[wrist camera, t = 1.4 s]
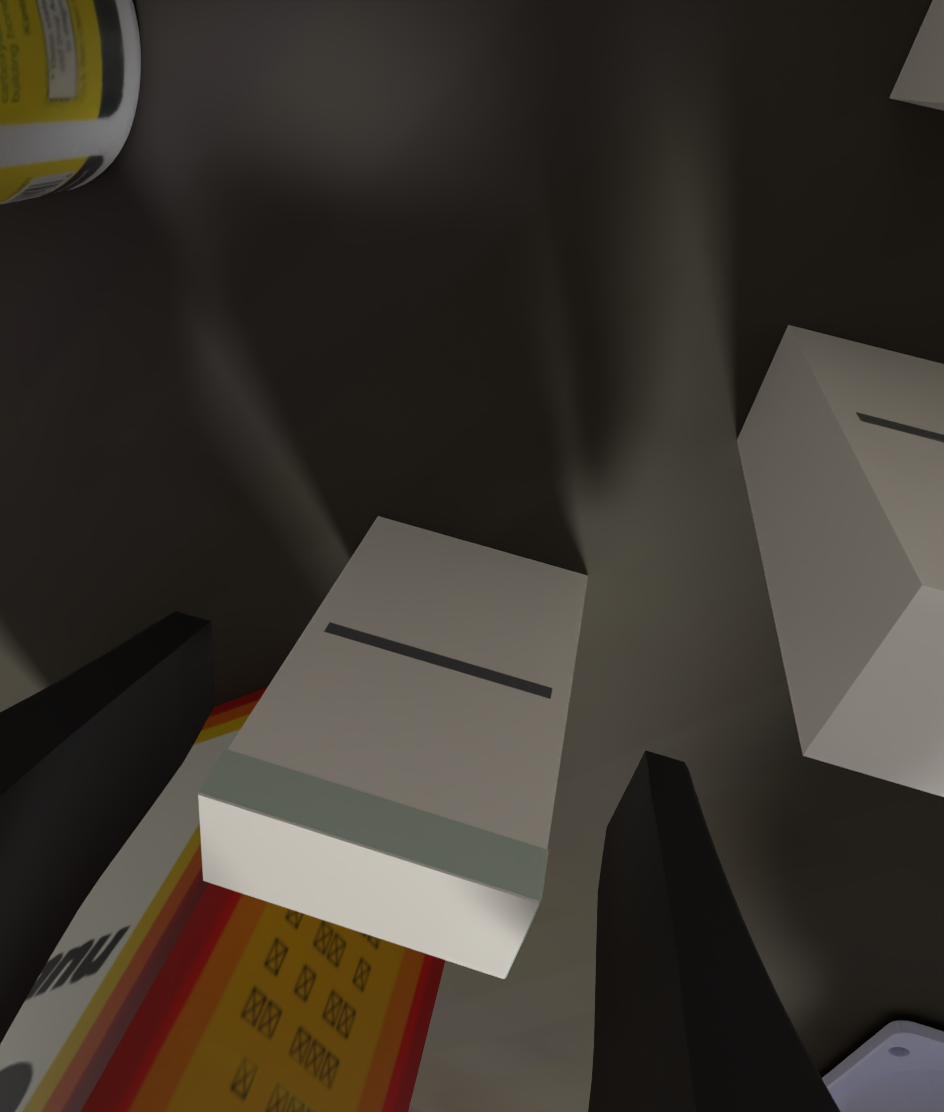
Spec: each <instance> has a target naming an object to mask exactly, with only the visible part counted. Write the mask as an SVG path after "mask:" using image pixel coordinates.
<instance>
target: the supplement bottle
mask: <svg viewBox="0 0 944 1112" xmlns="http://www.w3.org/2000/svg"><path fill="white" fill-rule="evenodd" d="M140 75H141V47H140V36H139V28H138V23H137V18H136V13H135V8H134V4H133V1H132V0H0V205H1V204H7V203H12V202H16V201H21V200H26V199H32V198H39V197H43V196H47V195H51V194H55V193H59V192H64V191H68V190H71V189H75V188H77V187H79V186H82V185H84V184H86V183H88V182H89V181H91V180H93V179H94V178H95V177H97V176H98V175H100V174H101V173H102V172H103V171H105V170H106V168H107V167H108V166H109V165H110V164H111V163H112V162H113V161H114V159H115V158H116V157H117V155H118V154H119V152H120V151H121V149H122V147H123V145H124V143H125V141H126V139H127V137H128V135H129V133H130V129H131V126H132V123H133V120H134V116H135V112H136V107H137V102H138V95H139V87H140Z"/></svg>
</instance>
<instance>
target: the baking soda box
mask: <svg viewBox="0 0 944 1112" xmlns="http://www.w3.org/2000/svg"><path fill="white" fill-rule="evenodd" d="M267 687H268V686H267ZM267 687H265V688H262V689H259V690H257V691H254V692H251V693H249V694H246V695H244V696H241V697H238V698H236V699H233V700H231V701H228V702H225V703H223V704H220V705H218V706H215V707H214V708H213V710H212V712H211V713H210V715H209V717H208V719H207V721H206V723H205V725H204V726H203V728H202V730H201V732H200V734H199V736H198V738H197V739H196V741H195V743H194V745H193V746H192V748H191V750H190V752H189V753H188V755H187V757H186V759H185V760H184V762H183V764H182V765H181V766H180V768H179V769H178V771H177V772H176V773H175V775H174V776H173V778H172V779H171V781H170V782H169V783H168V785H167V786H166V787H165V789H164V790H163V792H162V793H161V794H160V796H159V797H158V799H157V800H156V801H155V803H154V804H153V806H152V807H151V808H150V810H149V811H148V812H147V814H146V815H145V817H144V818H143V819H142V821H141V822H140V823H139V825H138V826H137V828H136V829H135V830H134V832H133V833H132V834H131V836H130V837H129V839H128V840H127V841H126V843H125V844H124V845H123V847H122V848H121V850H120V851H119V852H118V854H117V855H116V856H115V858H114V859H113V861H112V862H111V863H110V865H109V866H108V867H107V869H106V870H105V872H104V873H103V874H102V876H101V877H100V878H99V880H98V881H97V883H96V884H95V886H94V887H93V889H92V890H91V892H90V893H89V895H88V896H87V898H86V899H85V901H84V902H83V904H82V905H81V906H80V908H79V910H78V911H77V913H76V915H75V916H74V918H73V920H72V921H71V923H70V925H69V926H68V928H67V930H66V931H65V933H64V935H63V936H62V938H61V940H60V941H59V943H58V945H57V946H56V948H55V950H54V951H53V953H52V955H51V956H50V958H49V960H48V962H47V963H46V965H45V967H44V968H43V970H42V972H41V973H40V975H39V977H38V979H37V980H36V982H35V984H34V986H33V988H32V989H31V991H30V993H29V995H28V996H27V998H26V1000H25V1002H24V1003H23V1005H22V1007H21V1009H20V1010H19V1012H18V1014H17V1016H16V1017H15V1019H14V1021H13V1023H12V1024H11V1026H10V1028H9V1030H8V1031H7V1033H6V1035H5V1037H4V1039H3V1041H2V1042H1V1044H0V1112H408V1110H409V1105H410V1101H411V1097H412V1093H413V1089H414V1085H415V1081H416V1077H417V1073H418V1069H419V1065H420V1061H421V1057H422V1053H423V1049H424V1045H425V1041H426V1036H427V1032H428V1028H429V1024H430V1020H431V1016H432V1012H433V1008H434V1004H435V1000H436V996H437V992H438V988H439V984H440V980H441V976H442V972H443V967H444V963H445V960H444V959H441V958H438V957H435V956H432V955H429V954H426V953H423V952H419V951H416V950H413V949H410V948H407V947H404V946H401V945H398V944H395V943H392V942H389V941H386V940H383V939H380V938H377V937H374V936H371V935H368V934H364V933H361V932H358V931H355V930H352V929H349V928H346V927H343V926H340V925H337V924H334V923H331V922H328V921H325V920H322V919H319V918H316V917H313V916H309V915H306V914H303V913H300V912H297V911H294V910H291V909H288V908H285V907H282V906H279V905H276V904H273V903H270V902H267V901H264V900H261V899H258V898H254V897H251V896H248V895H245V894H242V893H239V892H236V891H233V890H230V889H227V888H224V887H221V886H218V885H215V884H212V883H209V882H206V881H203V870H202V853H201V835H200V818H199V801H198V791H199V789H200V788H201V786H202V784H203V783H204V781H205V780H206V778H207V777H208V775H209V774H210V772H211V771H212V769H213V767H214V766H215V764H216V763H217V761H218V760H219V758H220V757H221V755H222V754H223V752H224V750H225V749H228V748H229V746H230V745H231V743H232V742H233V740H234V739H235V737H236V736H237V734H238V732H239V731H240V729H241V728H242V726H243V725H244V723H245V722H246V720H247V718H248V717H249V715H250V714H251V712H252V711H253V709H254V708H255V706H256V704H257V703H258V701H259V700H260V698H261V697H262V695H263V694H264V692H265V691H266V689H267Z"/></svg>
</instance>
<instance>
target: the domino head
mask: <svg viewBox="0 0 944 1112" xmlns="http://www.w3.org/2000/svg"><path fill="white" fill-rule="evenodd" d="M587 579H588V575H584V574H581V573H577V572H574V571H570V570H567V569H563V568H560V567H556V566H552V565H549V564H545V563H542V562H538V561H535V560H531V559H528V558H524V557H521V556H517V555H514V554H510V553H507V552H503V551H500V550H496V549H493V548H489V547H486V546H482V545H478V544H475V543H471V542H468V541H464V540H461V539H457V538H454V537H450V536H447V535H443V534H440V533H436V532H433V531H429V530H426V529H422V528H419V527H415V526H412V525H408V524H405V523H401V522H397V521H394V520H390V519H387V518H383V517H380V516H378V517H377V518H376V520H375V521H374V523H373V524H372V526H371V528H370V529H369V531H368V532H367V534H366V535H365V537H364V538H363V540H362V542H361V543H360V545H359V546H358V548H357V549H356V551H355V552H354V554H353V556H352V557H351V559H350V560H349V562H348V563H347V565H346V566H345V568H344V569H343V571H342V573H341V574H340V576H339V577H338V579H337V580H336V582H335V583H334V585H333V587H332V588H331V590H330V591H329V593H328V594H327V596H326V597H325V599H324V601H323V602H322V604H321V605H320V607H319V608H318V610H317V611H316V613H315V614H314V616H313V618H312V619H311V621H310V622H309V624H308V625H307V627H306V628H305V630H304V632H303V633H302V635H301V636H300V638H299V639H298V641H297V642H296V644H295V646H294V647H293V649H292V650H291V652H290V653H289V655H288V656H287V658H286V659H285V661H284V663H283V664H282V666H281V667H280V669H279V670H278V672H277V673H276V675H275V677H274V678H273V680H272V681H271V683H270V684H269V686H268V687H267V689H266V691H265V692H264V694H263V695H262V697H261V698H260V700H259V701H258V703H257V704H256V706H255V708H254V709H253V711H252V712H251V714H250V715H249V717H248V718H247V720H246V722H245V723H244V725H243V726H242V728H241V729H240V731H239V732H238V734H237V736H236V737H235V739H234V740H233V742H232V743H231V745H230V746H229V748H228V749H225V750H224V752H223V754H222V755H221V757H220V758H219V760H218V761H217V763H216V764H215V766H214V767H213V769H212V771H211V772H210V774H209V775H208V777H207V778H206V780H205V781H204V783H203V784H202V786H201V788H200V789H199V791H198V801H199V818H200V835H201V853H202V870H203V881H206V882H209V883H212V884H215V885H218V886H221V887H224V888H227V889H230V890H233V891H236V892H239V893H242V894H245V895H248V896H251V897H254V898H258V899H261V900H264V901H267V902H270V903H273V904H276V905H279V906H282V907H285V908H288V909H291V910H294V911H297V912H300V913H303V914H306V915H309V916H313V917H316V918H319V919H322V920H325V921H328V922H331V923H334V924H337V925H340V926H343V927H346V928H349V929H352V930H355V931H358V932H361V933H364V934H368V935H371V936H374V937H377V938H380V939H383V940H386V941H389V942H392V943H395V944H398V945H401V946H404V947H407V948H410V949H413V950H416V951H419V952H423V953H426V954H429V955H432V956H435V957H438V958H441V959H444V960H447V961H450V962H453V963H456V964H459V965H462V966H465V967H468V968H471V969H474V970H477V971H481V972H484V973H487V974H490V975H493V976H496V977H499V978H502V979H505V978H506V976H507V974H508V972H509V970H510V968H511V966H512V963H513V961H514V959H515V957H516V955H517V953H518V950H519V948H520V946H521V944H522V942H523V940H524V937H525V935H526V933H527V931H528V929H529V927H530V924H531V922H532V920H533V918H534V916H535V914H536V911H537V909H538V907H539V905H540V903H541V900H542V893H543V887H544V880H545V873H546V866H547V859H548V853H549V850H547V847H548V840H549V834H550V827H551V820H552V814H553V807H554V800H555V793H556V787H557V780H558V773H559V767H560V760H561V753H562V747H563V740H564V733H565V727H566V720H567V713H568V706H569V700H570V693H571V686H572V680H573V673H574V666H575V660H576V653H577V646H578V640H579V633H580V626H581V619H582V613H583V606H584V599H585V593H586V586H587Z"/></svg>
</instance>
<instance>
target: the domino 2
mask: <svg viewBox="0 0 944 1112" xmlns="http://www.w3.org/2000/svg"><path fill="white" fill-rule="evenodd" d="M889 98H890V99H895V100H899V101H903V102H908V103H912V104H917V105H921V106H925V107H930V108H934V109H938V110H943V111H944V0H932V3H931V5H930V7H929V9H928V12H927V14H926V16H925V18H924V21H923V23H922V25H921V27H920V30H919V32H918V34H917V36H916V39H915V41H914V43H913V45H912V48H911V50H910V52H909V54H908V57H907V59H906V61H905V63H904V66H903V68H902V70H901V72H900V75H899V77H898V79H897V81H896V84H895V86H894V88H893V90H892V93H891V95H890V97H889Z"/></svg>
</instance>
